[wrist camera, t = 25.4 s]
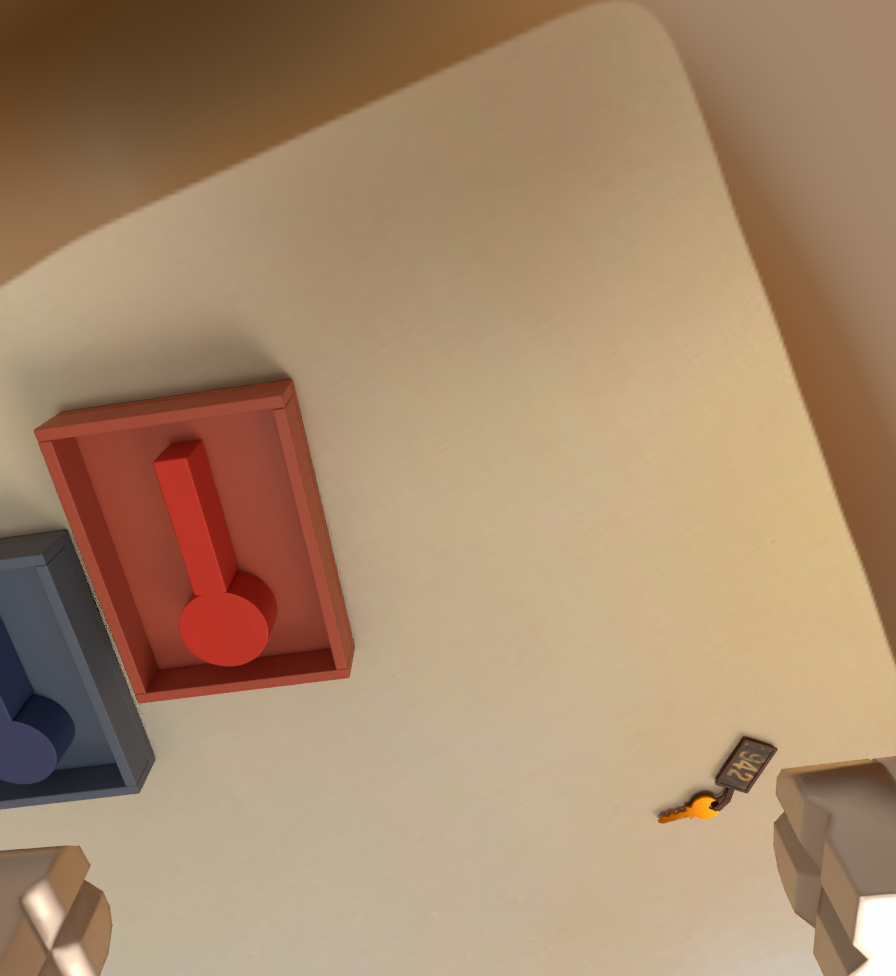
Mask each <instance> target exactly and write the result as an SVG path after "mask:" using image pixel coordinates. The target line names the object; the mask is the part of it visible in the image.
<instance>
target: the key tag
mask: <svg viewBox="0 0 896 976" xmlns="http://www.w3.org/2000/svg"><path fill="white" fill-rule="evenodd" d="M776 752H777V748H775V747H772V746H769V745H766V744H763V743H760V742H756V741H753V740H749V739H745V738H744V739H743V741H742V742H741V744H740V745H739V747H738V748H737V750H736V751H735V753H734V754H733V756H732V757H731V758H730V760H729V761H728V763H727V764H726V766H725V767H724V769H723V770H722V772H721V773H720V775H719V777H718V778H717V780H716V782H715V784H716V785H719V786H723V787H727V788H726V790H725V792H724V793H723V795H722V796H720V797H718V798H717V799H716V798H714V797H712V796H707V795H706V796H700V797H698V798H696V799H695V800H694V801H693V802H692V804H691V806H687V805H686V809H685V810H680V809H679V810H678V812H677V813H675V812H670V813H669V814H668V815H662V816H661V817H660V818H659V820H658V822H659V823H667V822H671V821H674V820H678V819H682V818H686V817H689V816H690V818H691V819H692V818H693V817H695V816H696V817H697V818H700V819H710V818H713V817H714V816H716V815H717V814H718V813H719V811H720V810H722V809H723V808H724V807H725V806H726V805H727V804H728V803H729V802H730V801H731V798H732V795H733V792H734V790H737V791H741V792H744V793H748V792H749V791H750V789H751V788H752V786H753V785H754V783H755V782H756V780H757V779H758V777H759V776H760V775H761V773H762V772H763V770H764V769H765V767H766V766H767V764H768V763H769V761H770V760H771V759H772V757H773V756H774V754H775V753H776ZM710 805H711V806H712V807H709V806H710Z"/></svg>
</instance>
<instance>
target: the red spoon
mask: <svg viewBox="0 0 896 976" xmlns="http://www.w3.org/2000/svg"><path fill="white" fill-rule="evenodd" d="M153 466H154V469H155V472H156V476H157V479H158V482H159V485H160V488H161V491H162V494H163V497H164V501H165V504H166V507H167V510H168V513H169V516H170V519H171V522H172V526H173V529H174V532H175V535H176V538H177V541H178V544H179V547H180V551H181V554H182V557H183V560H184V563H185V566H186V569H187V573H188V576H189V579H190V582H191V585H192V588H193V593H192V595H191V596H190V598H189V600H188V601H187V603H186V605H185V607H184V608H183V610H182V612H181V615H180V618H179V631H180V635H181V638H182V640H183V642H184V643H185V645H186V646H187V648H188V649H189V650H190V651H191V652H192V653H193V654H194V655H196V656H197V657H199V658H200V659H202V660H204V661H206V662H208V663H211V664H214V665H218V666H238V665H242V664H246V663H248V662H250V661H252V660H253V659H255V658H256V657H257V656H259V655H260V654H261V652H262V651H263V650H264V648H265V646H266V644H267V641H268V639H269V636H270V633H271V631H272V628H273V625H274V622H275V619H276V616H277V604H276V600H275V597H274V595H273V593H272V591H271V590H270V589H269V587H268V586H267V585H266V584H265V583H264V582H263V581H262V580H260V579H259V578H257V577H256V576H254V575H252V574H249V573H247V572H243V571H239V570H238V564H237V560H236V557H235V553H234V550H233V546H232V543H231V539H230V536H229V532H228V529H227V525H226V522H225V518H224V515H223V511H222V508H221V505H220V501H219V498H218V494H217V491H216V487H215V484H214V480H213V477H212V473H211V470H210V466H209V463H208V459H207V456H206V452H205V449H204V445H203V442H202V440H196V441H188V442H181V443H173V444H170V445H169V446H168V447H167V448H166V449H165V450H164V451H163V452H162V453H161V454H160V455H159V456H158V457H157V458H156V459H155V460H154V461H153Z"/></svg>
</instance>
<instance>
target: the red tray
mask: <svg viewBox="0 0 896 976" xmlns="http://www.w3.org/2000/svg"><path fill="white" fill-rule="evenodd" d="M34 433H35V435H36V438H37V440H38V442H39V446H40V449H41V451H42V454H43V456H44V459H45V462H46V464H47V467H48V469H49V472H50V475H51V477H52V480H53V482H54V485H55V488H56V490H57V493H58V495H59V498H60V501H61V503H62V506H63V508H64V511H65V514H66V516H67V519H68V521H69V524H70V527H71V529H72V532H73V534H74V537H75V540H76V542H77V545H78V547H79V550H80V553H81V555H82V558H83V560H84V563H85V566H86V568H87V571H88V573H89V576H90V579H91V581H92V584H93V587H94V589H95V592H96V594H97V597H98V600H99V602H100V605H101V607H102V610H103V613H104V615H105V618H106V620H107V623H108V626H109V628H110V631H111V633H112V636H113V639H114V641H115V644H116V646H117V649H118V652H119V654H120V657H121V659H122V662H123V665H124V667H125V670H126V672H127V675H128V678H129V680H130V683H131V685H132V688H133V691H134V693H135V696H136V698H137V701H138V703H147V702H155V701H163V700H171V699H179V698H188V697H196V696H204V695H212V694H221V693H229V692H237V691H245V690H253V689H262V688H270V687H278V686H286V685H295V684H303V683H311V682H319V681H328V680H336V679H344V678H349V677H350V672H351V667H352V661H353V656H354V650H355V646H354V642H353V638H352V634H351V629H350V625H349V621H348V616H347V612H346V608H345V603H344V599H343V595H342V590H341V586H340V582H339V577H338V573H337V569H336V564H335V560H334V556H333V551H332V547H331V543H330V539H329V534H328V530H327V526H326V521H325V517H324V513H323V508H322V504H321V500H320V495H319V491H318V487H317V482H316V478H315V474H314V469H313V465H312V461H311V457H310V452H309V448H308V444H307V439H306V435H305V431H304V426H303V422H302V418H301V413H300V409H299V405H298V400H297V396H296V392H295V387H294V383H293V380H292V379H290V380H283V381H276V382H269V383H262V384H255V385H248V386H241V387H234V388H227V389H220V390H213V391H206V392H199V393H192V394H185V395H178V396H171V397H164V398H157V399H150V400H143V401H136V402H129V403H122V404H115V405H108V406H101V407H94V408H87V409H80V410H73V411H66V412H61V413H59V414H57V415H56V416H54V417H53V418H51V419H50V420H48V421H47V422H45V423H44V424H42V425H41V426H39V427H38V428H36V429H35V430H34ZM196 440H202V442H203V445H204V449H205V452H206V456H207V459H208V463H209V466H210V470H211V473H212V477H213V480H214V484H215V487H216V491H217V494H218V498H219V501H220V505H221V508H222V511H223V515H224V518H225V522H226V525H227V529H228V532H229V536H230V539H231V543H232V546H233V550H234V553H235V557H236V560H237V564H238V570H239V571H243V572H247V573H249V574H252V575H254V576H256V577H257V578H259V579H260V580H262V581H263V582H264V583H265V584H266V585H267V586H268V587H269V589H270V590H271V591H272V593H273V595H274V597H275V600H276V604H277V616H276V619H275V622H274V625H273V628H272V631H271V633H270V636H269V639H268V641H267V644H266V646H265V648H264V650H263V651H262V652H261V654H260V655H259V656H257V657H256V658H255V659H253V660H252V661H250V662H248V663H246V664H242V665H238V666H218V665H214V664H211V663H208V662H206V661H204V660H202V659H200V658H199V657H197V656H196V655H194V654H193V653H192V652H191V651H190V650H189V649H188V648H187V646H186V645H185V643H184V642H183V640H182V638H181V635H180V631H179V618H180V615H181V612H182V610H183V608H184V607H185V605H186V603H187V601H188V600H189V598H190V596H191V595H192V593H193V588H192V585H191V582H190V579H189V576H188V573H187V569H186V566H185V563H184V560H183V557H182V554H181V551H180V547H179V544H178V541H177V538H176V535H175V532H174V529H173V526H172V522H171V519H170V516H169V513H168V510H167V507H166V504H165V501H164V497H163V494H162V491H161V488H160V485H159V482H158V479H157V476H156V472H155V469H154V466H153V461H154V460H155V459H156V458H157V457H158V456H159V455H160V454H161V453H162V452H163V451H164V450H165V449H166V448H167V447H168V446H169V445H170V444H173V443H181V442H188V441H196Z"/></svg>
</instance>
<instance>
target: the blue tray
mask: <svg viewBox="0 0 896 976" xmlns="http://www.w3.org/2000/svg"><path fill="white" fill-rule="evenodd" d="M0 617H1V619H2V621H3V623H4V626H5V628H6V630H7V632H8V635H9V637H10V639H11V641H12V644H13V646H14V648H15V650H16V653H17V655H18V657H19V659H20V662H21V664H22V666H23V668H24V670H25V673H26V675H27V677H28V679H29V682H30V684H31V686H32V688H33V691H34V692H33V694H36V695H40V696H44V697H46V698H49V699H51V700H53V701H55V702H56V703H58V704H59V705H60V706H62V707H63V708H64V709H65V710H66V711H67V712H68V714H69V715H70V717H71V719H72V721H73V723H74V728H75V734H74V738H73V741H72V743H71V744H70V746H69V747H68V749H67V751H66V752H65V754H64V755H63V757H62V758H61V760H60V761H59V763H58V765H57V766H56V768H55V769H54V771H53V772H52V773H51V775H49V776H48V777H47V778H45V779H44V780H41V781H39V782H36V783H31V784H16V783H10V782H7V781H3V780H1V779H0V809H8V808H17V807H25V806H34V805H43V804H51V803H60V802H69V801H77V800H86V799H95V798H103V797H112V796H121V795H129V794H138V793H140V791H141V789H142V787H143V785H144V783H145V780H146V778H147V776H148V774H149V772H150V770H151V768H152V766H153V764H154V762H155V757H154V754H153V752H152V749H151V747H150V744H149V741H148V739H147V736H146V734H145V731H144V729H143V726H142V723H141V721H140V718H139V716H138V713H137V710H136V708H135V705H134V703H133V700H132V698H131V695H130V692H129V690H128V687H127V685H126V682H125V679H124V677H123V674H122V672H121V669H120V667H119V664H118V661H117V659H116V656H115V654H114V651H113V648H112V646H111V643H110V641H109V638H108V636H107V633H106V630H105V628H104V625H103V623H102V620H101V618H100V615H99V612H98V610H97V607H96V605H95V602H94V599H93V597H92V594H91V592H90V589H89V587H88V584H87V581H86V579H85V576H84V574H83V571H82V568H81V566H80V563H79V561H78V558H77V556H76V553H75V550H74V548H73V545H72V543H71V540H70V537H69V535H68V532H67V530H63V531H56V532H48V533H41V534H34V535H26V536H19V537H11V538H4V539H0Z"/></svg>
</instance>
